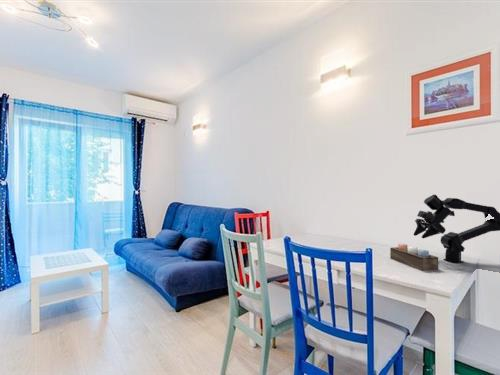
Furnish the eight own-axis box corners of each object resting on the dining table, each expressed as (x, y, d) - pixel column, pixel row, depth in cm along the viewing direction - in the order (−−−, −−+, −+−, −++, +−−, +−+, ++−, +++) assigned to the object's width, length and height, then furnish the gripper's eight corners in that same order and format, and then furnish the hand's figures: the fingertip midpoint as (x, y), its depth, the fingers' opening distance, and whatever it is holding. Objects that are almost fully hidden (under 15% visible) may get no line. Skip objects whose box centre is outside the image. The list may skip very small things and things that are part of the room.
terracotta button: (403, 252, 146) (403, 243, 146) (409, 254, 142) (409, 245, 142) (396, 252, 146) (396, 243, 146) (402, 254, 141) (402, 245, 141)
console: (404, 257, 148) (404, 247, 148) (438, 269, 127) (438, 257, 127) (390, 258, 147) (390, 247, 147) (421, 270, 125) (421, 258, 125)
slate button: (423, 259, 132) (423, 249, 132) (431, 261, 128) (431, 251, 128) (415, 259, 132) (415, 249, 132) (423, 261, 127) (422, 251, 127)
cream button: (413, 255, 139) (413, 246, 139) (419, 257, 135) (419, 248, 135) (405, 255, 139) (405, 246, 139) (412, 258, 134) (411, 248, 134)
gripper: (418, 204, 152) (398, 223, 153) (438, 206, 133) (416, 228, 134) (432, 218, 151) (413, 237, 152) (455, 222, 133) (433, 244, 134)
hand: (418, 236), depth 143 cm, fingers open, 7 cm apart
